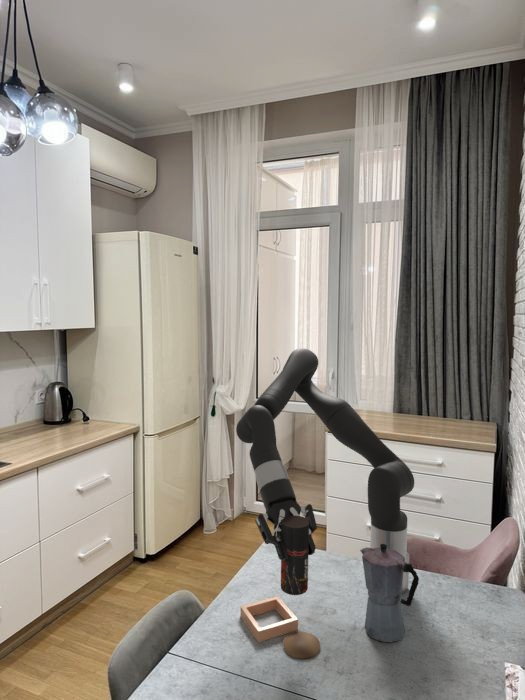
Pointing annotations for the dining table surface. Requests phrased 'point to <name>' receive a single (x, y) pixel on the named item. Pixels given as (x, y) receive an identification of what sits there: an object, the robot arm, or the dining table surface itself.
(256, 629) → the orange square frame
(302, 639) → the coaster
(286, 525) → the deodorant
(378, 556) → the moka pot
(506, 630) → the dining table surface
